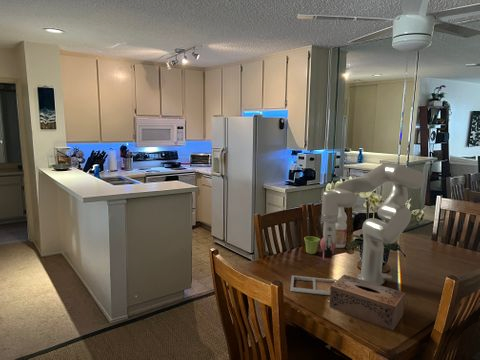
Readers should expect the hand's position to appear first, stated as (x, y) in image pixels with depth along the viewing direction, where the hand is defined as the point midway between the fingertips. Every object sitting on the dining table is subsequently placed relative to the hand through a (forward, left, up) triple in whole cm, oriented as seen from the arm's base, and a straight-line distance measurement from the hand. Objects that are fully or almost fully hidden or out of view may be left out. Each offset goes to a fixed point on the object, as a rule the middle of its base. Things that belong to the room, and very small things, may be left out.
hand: (327, 254), depth 160 cm
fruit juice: (-11, -62, -17) cm, 65 cm away
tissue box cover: (-16, +17, -17) cm, 29 cm away
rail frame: (+5, 0, -17) cm, 18 cm away
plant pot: (+6, -46, -17) cm, 50 cm away
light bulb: (0, 0, -3) cm, 3 cm away
